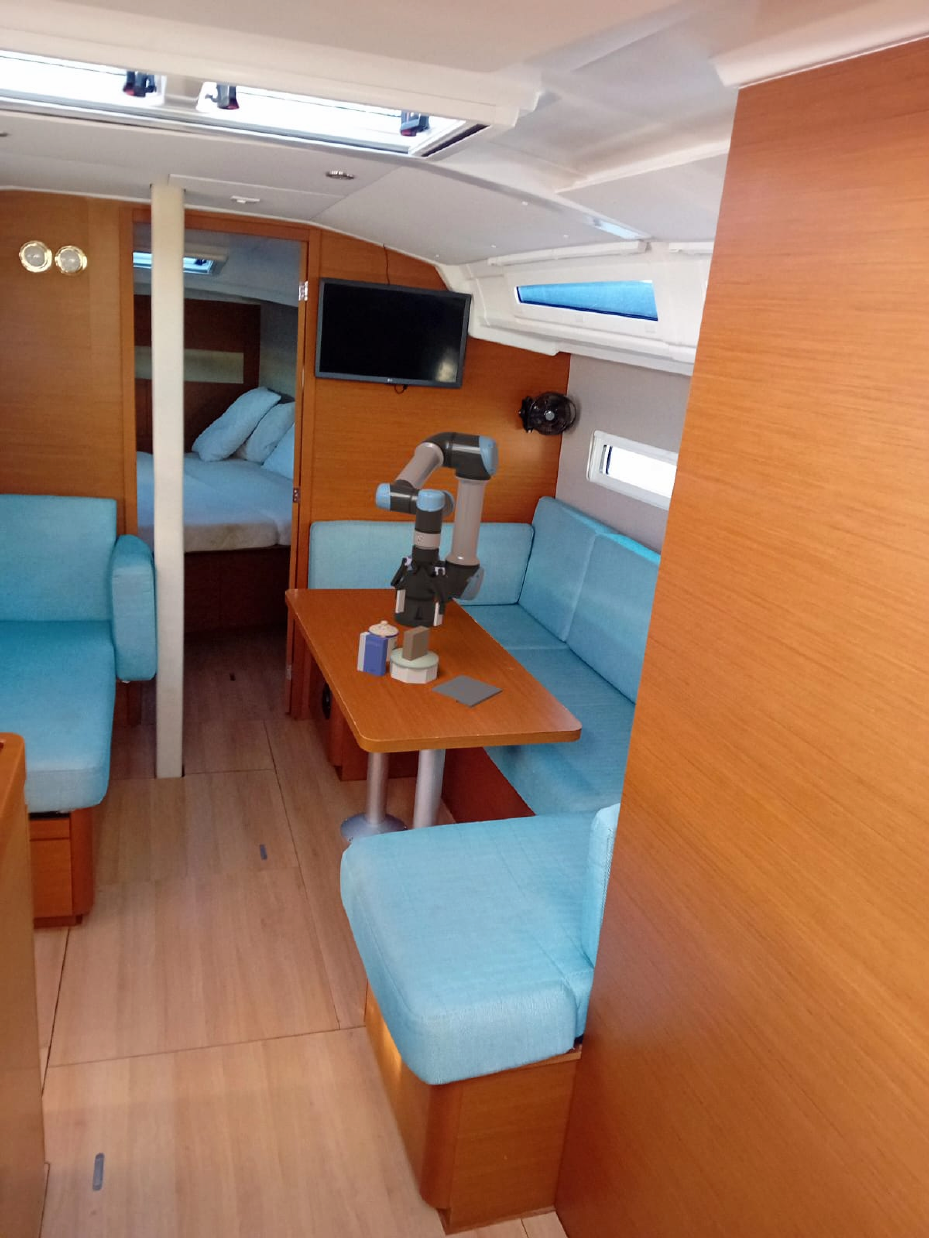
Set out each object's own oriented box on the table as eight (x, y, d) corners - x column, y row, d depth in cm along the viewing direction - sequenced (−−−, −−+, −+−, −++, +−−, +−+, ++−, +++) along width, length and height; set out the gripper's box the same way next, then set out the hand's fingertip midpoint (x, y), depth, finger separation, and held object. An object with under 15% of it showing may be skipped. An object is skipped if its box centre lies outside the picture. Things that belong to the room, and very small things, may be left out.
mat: (461, 676, 275) (462, 674, 274) (501, 691, 268) (502, 689, 267) (429, 691, 262) (430, 689, 262) (471, 707, 255) (471, 705, 254)
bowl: (408, 663, 279) (409, 648, 278) (443, 676, 273) (445, 661, 271) (380, 674, 269) (382, 658, 267) (416, 688, 262) (418, 672, 261)
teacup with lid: (397, 664, 278) (401, 627, 274) (367, 662, 276) (370, 626, 273) (393, 649, 289) (396, 613, 286) (363, 648, 287) (367, 612, 284)
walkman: (385, 675, 269) (388, 636, 265) (380, 678, 266) (383, 639, 262) (361, 668, 272) (365, 630, 268) (356, 671, 269) (359, 632, 265)
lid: (409, 647, 278) (412, 618, 275) (447, 661, 271) (451, 631, 268) (380, 658, 267) (382, 628, 264) (418, 673, 260) (422, 642, 257)
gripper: (382, 537, 261) (375, 609, 268) (455, 558, 249) (446, 632, 255) (399, 534, 267) (392, 604, 274) (470, 554, 255) (461, 627, 261)
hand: (418, 618), depth 265 cm, fingers open, 13 cm apart
